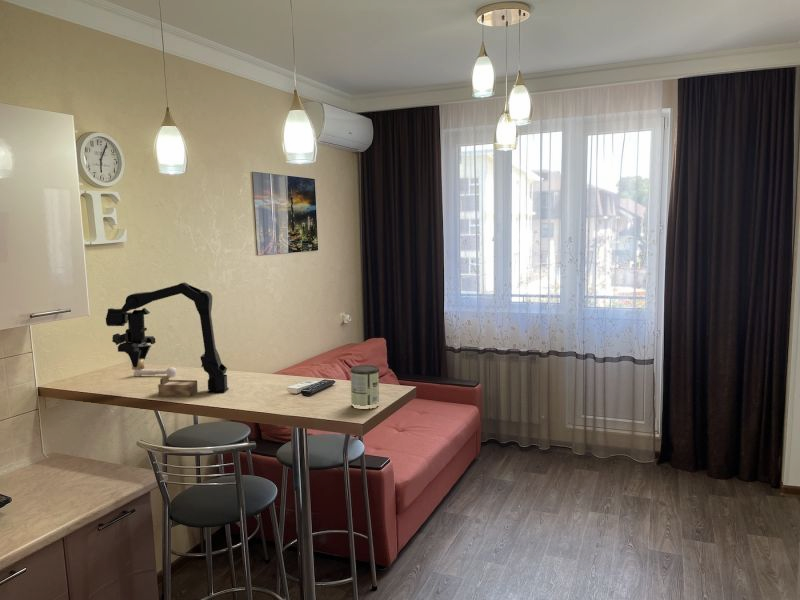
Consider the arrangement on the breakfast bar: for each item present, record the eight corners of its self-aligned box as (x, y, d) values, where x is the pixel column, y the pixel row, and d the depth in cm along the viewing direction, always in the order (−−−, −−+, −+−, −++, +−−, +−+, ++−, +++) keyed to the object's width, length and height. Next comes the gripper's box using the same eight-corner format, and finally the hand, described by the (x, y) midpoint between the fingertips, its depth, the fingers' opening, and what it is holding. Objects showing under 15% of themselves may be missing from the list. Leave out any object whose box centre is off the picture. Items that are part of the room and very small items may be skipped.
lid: (196, 383, 237) (195, 375, 236) (190, 387, 231) (189, 379, 230) (166, 382, 237) (166, 375, 237) (159, 386, 231) (159, 379, 231)
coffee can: (355, 401, 226) (355, 364, 224) (382, 403, 223) (382, 365, 222) (347, 408, 216) (346, 370, 214) (374, 411, 213) (374, 372, 212)
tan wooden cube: (146, 367, 235) (146, 359, 234) (137, 370, 231) (136, 361, 231) (139, 366, 237) (138, 357, 236) (129, 368, 233) (129, 360, 233)
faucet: (171, 388, 261) (177, 366, 260) (131, 374, 260) (138, 353, 259) (174, 385, 265) (181, 364, 264) (135, 372, 264) (142, 351, 263)
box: (197, 391, 238) (197, 380, 237) (189, 396, 230) (189, 385, 229) (167, 390, 239) (167, 379, 238) (158, 396, 231) (158, 384, 230)
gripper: (128, 321, 242) (129, 360, 243) (102, 329, 223) (104, 370, 225) (155, 322, 241) (156, 360, 243) (132, 330, 223) (134, 371, 224)
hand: (138, 365), depth 234 cm, fingers closed on tan wooden cube, 4 cm apart
